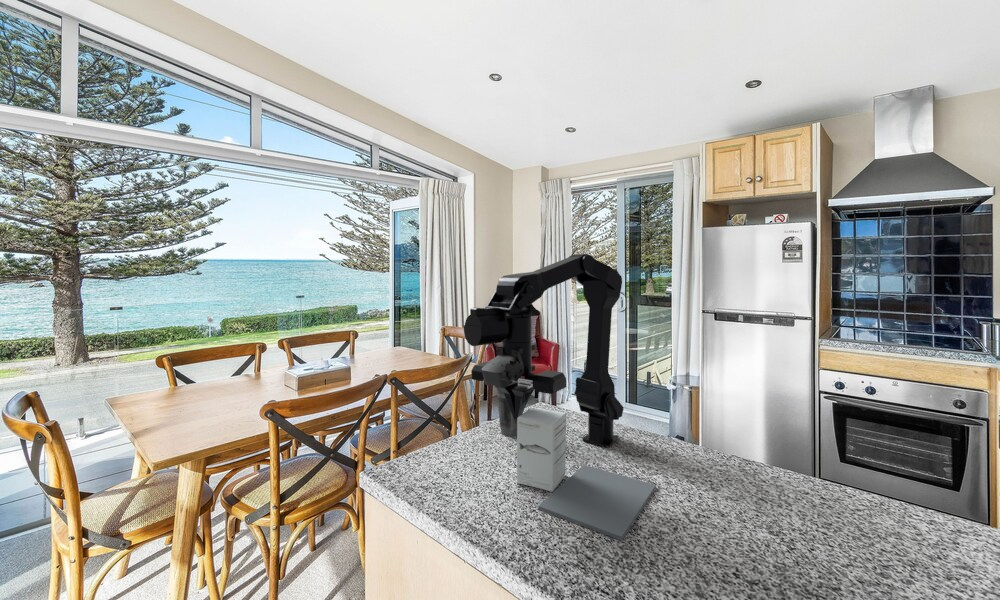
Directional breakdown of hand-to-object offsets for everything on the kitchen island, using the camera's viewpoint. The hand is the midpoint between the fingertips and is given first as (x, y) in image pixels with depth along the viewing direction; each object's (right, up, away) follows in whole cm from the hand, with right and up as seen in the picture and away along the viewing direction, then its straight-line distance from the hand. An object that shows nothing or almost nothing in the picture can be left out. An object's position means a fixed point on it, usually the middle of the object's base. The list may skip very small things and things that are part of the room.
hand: (517, 419), depth 81 cm
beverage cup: (-1, -9, +21) cm, 23 cm away
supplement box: (+5, -11, -3) cm, 12 cm away
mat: (+14, -11, -9) cm, 20 cm away
